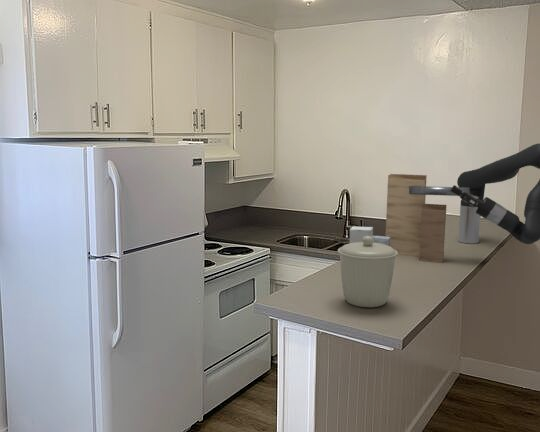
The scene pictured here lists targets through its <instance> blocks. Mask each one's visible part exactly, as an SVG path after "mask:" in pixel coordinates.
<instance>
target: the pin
mask: <svg viewBox="0 0 540 432" xmlns="http://www.w3.org/2000/svg"><path fill="white" fill-rule="evenodd" d="M452 187H453V186H430V185H429V186H427V185H426V186H409V194H416V195H426V196H444V197H445V196H446V197H449V196H450V197H459V196H458V195H457V194H455V193H453V192H452V191H451V189H452ZM456 188H458V189H460V190H461V191H464V192H465V193H470V188H464V187H458V186H457V187H456ZM465 196H466V195H465Z"/></svg>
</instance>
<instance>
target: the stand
mask: <svg viewBox="0 0 540 432" xmlns="http://www.w3.org/2000/svg"><path fill="white" fill-rule="evenodd" d="M409 186H427V174H404V173H403V174H402V173H399V174H398V173H390V174H388V175H387V191H386V192H387V195H386V196H387V197H386V213H385V214H386V215H385V216H386V217H385V219H386V220H385V237H390V247H392V248H393V249H394V250H396V251H397V252H398V255H400V256H412V257H419V254H420V235H421V215H422V205H423V204H426V197H427V195H416V194H409ZM398 255H397V256H398Z"/></svg>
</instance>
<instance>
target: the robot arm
mask: <svg viewBox="0 0 540 432" xmlns="http://www.w3.org/2000/svg"><path fill="white" fill-rule="evenodd" d="M524 167H525V168H526V167H533V168H536V169H539V170H540V143H535V144H533V145H530V146H528V147H525V148H524V149H522V150H521V151H518V152H517V153H514V154H512V155H509V156H507V157H503V158H501V159H498V160H495V161H493V162H490V163H488V164H486V165H483V166H481V167H479V168H476V169H472V170H468V171H464V172H461V174H460V175H459V176H458V177H457V181H456V183H457V185H455V184H454V185H452V186H451V187H452V189H451V191H452V192H453V193H455V194H457V195H458V196H457V197H459V198H460V205H459V207H460V208H459V210H460V211H459V224H458V225H459V227H458V241H457V242H458V243H459V242H460V243H464V244H479V243H480V233H481V231H480V230H481V219H482V218H483V219H485V220H487V221H488V222H489V223H492V224H495V225H496V226H498V227H499V228H501V229H503V230H505V231H507V232H508V233H509V234H510V235H511V236H512V237H514V239H516V240H517V241H519V242H520V243H522V244H524V245H525V244H526V245H532V244H534V243H536V242H538V241H540V179H539V180H538V182H537V183H536V184H535V185H534V187H532V189H531V190H530V191H529V193H528V194H527V197H526V200H525V203H524V210H523V217H524V218H525V220H524V222H523V221H521V220H520V216H518V215H517V214H515V213H513V212H512V211H510V210H509V209H508V208H506V207H504V206H503V205H501V204H500V203H498V202H497V201H495V200H493V199H492V198H490V197H488V196H485V190H486V185H488V184H496V183H500V182H504V181H505V182H506V181H508V180H511V179H514V178H515V177H516V176H517V174H519V171H520V169H522V168H524ZM456 187H464V188H470V193H465V192H464V191H461V190H460V189H458V188H456ZM465 195H466V196H465ZM481 217H482V218H481Z"/></svg>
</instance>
